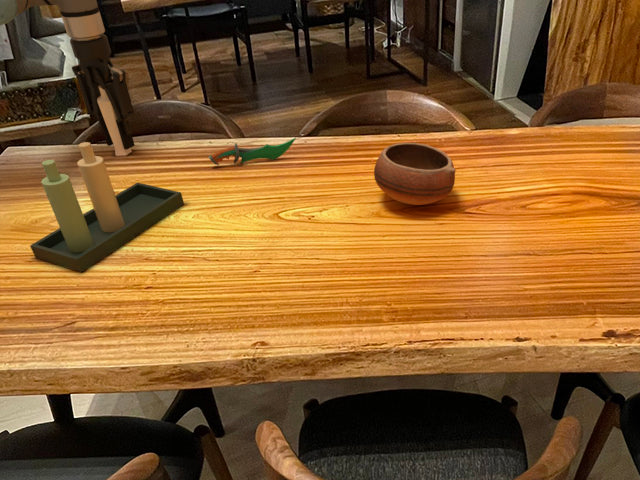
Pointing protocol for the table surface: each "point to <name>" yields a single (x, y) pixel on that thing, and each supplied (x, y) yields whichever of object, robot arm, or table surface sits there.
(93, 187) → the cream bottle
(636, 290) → the table surface
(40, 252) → the tray
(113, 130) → the perfume bottle
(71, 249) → the sage bottle
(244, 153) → the knife
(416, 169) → the bowl
